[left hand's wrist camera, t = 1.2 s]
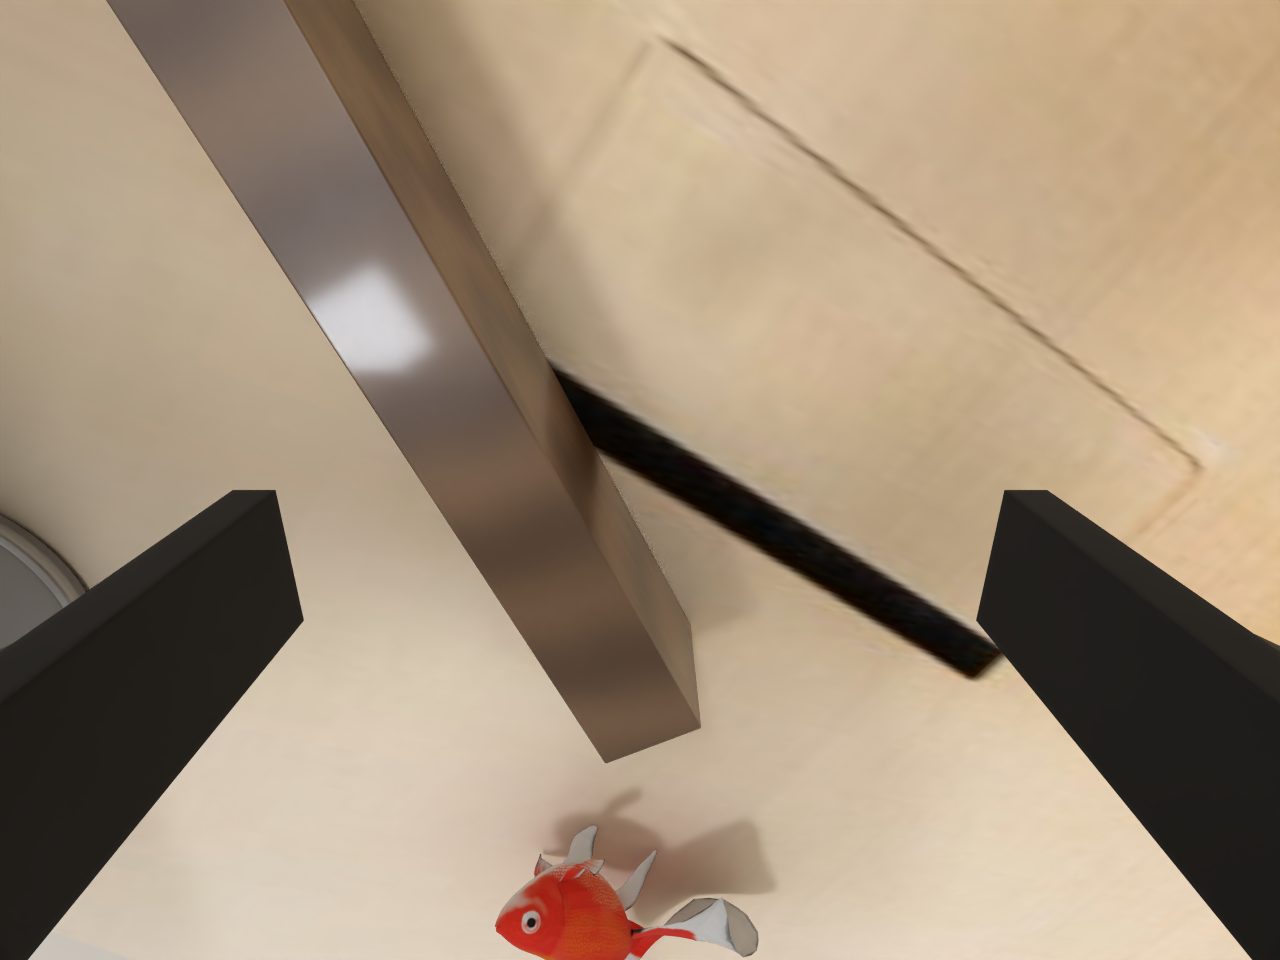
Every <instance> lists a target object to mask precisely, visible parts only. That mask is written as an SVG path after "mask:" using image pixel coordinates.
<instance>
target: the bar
mask: <svg viewBox="0 0 1280 960" xmlns="http://www.w3.org/2000/svg"><path fill="white" fill-rule="evenodd" d="M106 1H107V2H108V4H109V5H110V7H111V8H112V10H113V11H114V13H115V14H116V16H117V18H118V19H119V21H120V22H121V24H122V25H123V27H124V28H125V30H126V31H127V33H128V34H129V36H130V37H131V39H132V40H133V42H134V44H135V45H136V47H137V48H138V50H139V51H140V53H141V54H142V56H143V57H144V59H145V60H146V62H147V63H148V65H149V66H150V68H151V70H152V71H153V73H154V74H155V76H156V77H157V79H158V80H159V82H160V83H161V85H162V86H163V88H164V89H165V91H166V92H167V94H168V96H169V97H170V99H171V100H172V102H173V103H174V105H175V106H176V108H177V109H178V111H179V112H180V114H181V115H182V117H183V118H184V120H185V122H186V123H187V125H188V126H189V128H190V129H191V131H192V132H193V134H194V135H195V137H196V138H197V140H198V141H199V143H200V144H201V146H202V147H203V149H204V151H205V152H206V154H207V155H208V157H209V158H210V160H211V161H212V163H213V164H214V166H215V167H216V169H217V170H218V172H219V173H220V175H221V177H222V178H223V180H224V181H225V183H226V184H227V186H228V187H229V189H230V190H231V192H232V193H233V195H234V196H235V198H236V199H237V201H238V203H239V204H240V206H241V207H242V209H243V210H244V212H245V213H246V215H247V216H248V218H249V219H250V221H251V222H252V224H253V225H254V227H255V229H256V230H257V232H258V233H259V235H260V236H261V238H262V239H263V241H264V242H265V244H266V245H267V247H268V248H269V250H270V251H271V253H272V255H273V256H274V258H275V259H276V261H277V262H278V264H279V265H280V267H281V268H282V270H283V271H284V273H285V274H286V276H287V277H288V279H289V280H290V282H291V284H292V285H293V287H294V288H295V290H296V291H297V293H298V294H299V296H300V297H301V299H302V300H303V302H304V303H305V305H306V306H307V308H308V310H309V311H310V313H311V314H312V316H313V317H314V319H315V320H316V322H317V323H318V325H319V326H320V328H321V329H322V331H323V332H324V334H325V336H326V337H327V339H328V340H329V342H330V343H331V345H332V346H333V348H334V349H335V351H336V352H337V354H338V355H339V357H340V358H341V360H342V362H343V363H344V365H345V366H346V368H347V369H348V371H349V372H350V374H351V375H352V377H353V378H354V380H355V381H356V383H357V384H358V386H359V388H360V389H361V391H362V392H363V394H364V395H365V397H366V398H367V400H368V401H369V403H370V404H371V406H372V407H373V409H374V410H375V412H376V414H377V415H378V417H379V418H380V420H381V421H382V423H383V424H384V426H385V427H386V429H387V430H388V432H389V433H390V435H391V436H392V438H393V439H394V441H395V443H396V444H397V446H398V447H399V449H400V450H401V452H402V453H403V455H404V456H405V458H406V459H407V461H408V462H409V464H410V465H411V467H412V469H413V470H414V472H415V473H416V475H417V476H418V478H419V479H420V481H421V482H422V484H423V485H424V487H425V488H426V490H427V491H428V493H429V495H430V496H431V498H432V499H433V501H434V502H435V504H436V505H437V507H438V508H439V510H440V511H441V513H442V514H443V516H444V517H445V519H446V521H447V522H448V524H449V525H450V527H451V528H452V530H453V531H454V533H455V534H456V536H457V537H458V539H459V540H460V542H461V543H462V545H463V547H464V548H465V550H466V551H467V553H468V554H469V556H470V557H471V559H472V560H473V562H474V563H475V565H476V566H477V568H478V569H479V571H480V572H481V574H482V576H483V577H484V579H485V580H486V582H487V583H488V585H489V586H490V588H491V589H492V591H493V592H494V594H495V595H496V597H497V598H498V600H499V602H500V603H501V605H502V606H503V608H504V609H505V611H506V612H507V614H508V615H509V617H510V618H511V620H512V621H513V623H514V624H515V626H516V628H517V629H518V631H519V632H520V634H521V635H522V637H523V638H524V640H525V641H526V643H527V644H528V646H529V647H530V649H531V650H532V652H533V654H534V655H535V657H536V658H537V660H538V661H539V663H540V664H541V666H542V667H543V669H544V670H545V672H546V673H547V675H548V676H549V678H550V680H551V681H552V683H553V684H554V686H555V687H556V689H557V690H558V692H559V693H560V695H561V696H562V698H563V699H564V701H565V702H566V704H567V705H568V707H569V709H570V710H571V712H572V713H573V715H574V716H575V718H576V719H577V721H578V722H579V724H580V725H581V727H582V728H583V730H584V731H585V733H586V735H587V736H588V738H589V739H590V741H591V742H592V744H593V745H594V747H595V748H596V750H597V751H598V753H599V754H600V756H601V757H602V759H603V761H604V762H605V763H609V762H611V761H614V760H617V759H619V758H622V757H625V756H627V755H630V754H633V753H635V752H638V751H641V750H643V749H646V748H649V747H651V746H654V745H657V744H659V743H662V742H665V741H667V740H670V739H673V738H675V737H678V736H681V735H684V734H686V733H689V732H692V731H694V730H697V729H700V728H701V722H700V713H699V704H698V694H697V685H696V675H695V666H694V656H693V647H692V637H691V628H690V623H689V621H688V619H687V618H686V616H685V614H684V612H683V610H682V608H681V606H680V605H679V603H678V601H677V599H676V597H675V595H674V594H673V592H672V590H671V588H670V586H669V584H668V582H667V581H666V579H665V577H664V575H663V573H662V571H661V570H660V568H659V566H658V564H657V562H656V560H655V558H654V557H653V555H652V553H651V551H650V549H649V547H648V546H647V544H646V542H645V540H644V538H643V536H642V534H641V533H640V531H639V529H638V527H637V525H636V523H635V522H634V520H633V518H632V516H631V514H630V512H629V510H628V509H627V507H626V505H625V503H624V501H623V499H622V498H621V496H620V494H619V492H618V490H617V488H616V486H615V485H614V483H613V481H612V479H611V477H610V475H609V474H608V472H607V470H606V468H605V466H604V464H603V462H602V461H601V459H600V457H599V455H598V453H597V451H596V449H595V448H594V446H593V444H592V442H591V440H590V438H589V437H588V435H587V433H586V431H585V429H584V427H583V425H582V424H581V422H580V420H579V418H578V416H577V414H576V413H575V411H574V409H573V407H572V405H571V403H570V401H569V400H568V398H567V396H566V394H565V392H564V390H563V389H562V387H561V385H560V383H559V381H558V379H557V377H556V376H555V374H554V372H553V370H552V368H551V366H550V365H549V363H548V361H547V359H546V357H545V355H544V353H543V352H542V350H541V348H540V346H539V344H538V342H537V341H536V339H535V337H534V335H533V333H532V331H531V329H530V328H529V326H528V324H527V322H526V320H525V318H524V317H523V315H522V313H521V311H520V309H519V307H518V305H517V304H516V302H515V300H514V298H513V296H512V294H511V293H510V291H509V289H508V287H507V285H506V283H505V281H504V280H503V278H502V276H501V274H500V272H499V270H498V268H497V267H496V265H495V263H494V261H493V259H492V257H491V256H490V254H489V252H488V250H487V248H486V246H485V244H484V243H483V241H482V239H481V237H480V235H479V233H478V232H477V230H476V228H475V226H474V224H473V222H472V220H471V219H470V217H469V215H468V213H467V211H466V209H465V208H464V206H463V204H462V202H461V200H460V198H459V196H458V195H457V193H456V191H455V189H454V187H453V185H452V184H451V182H450V180H449V178H448V176H447V174H446V172H445V171H444V169H443V167H442V165H441V163H440V161H439V160H438V158H437V156H436V154H435V152H434V150H433V148H432V147H431V145H430V143H429V141H428V139H427V137H426V136H425V134H424V132H423V130H422V128H421V126H420V124H419V123H418V121H417V119H416V117H415V115H414V113H413V111H412V110H411V108H410V106H409V104H408V102H407V100H406V99H405V97H404V95H403V93H402V91H401V89H400V87H399V86H398V84H397V82H396V80H395V78H394V76H393V75H392V73H391V71H390V69H389V67H388V65H387V63H386V62H385V60H384V58H383V56H382V54H381V52H380V51H379V49H378V47H377V45H376V43H375V41H374V39H373V38H372V36H371V34H370V32H369V30H368V28H367V27H366V25H365V23H364V21H363V19H362V17H361V15H360V14H359V12H358V10H357V8H356V6H355V4H354V3H353V1H352V0H106Z"/></svg>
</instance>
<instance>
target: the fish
mask: <svg viewBox="0 0 1280 960" xmlns="http://www.w3.org/2000/svg"><path fill="white" fill-rule="evenodd" d="M596 832H597V827H596V826H594V825H592V826H590V827H588V828H586V829H585V830H583V831H581V832H580V833H578V834H577V835H576V836H575V837H574V839H573V841H572V843H571V846H570V849H569V853H568V856H567V858H566V859H565V861H564V862H563V864H558V865H555V866H552V865H550V864H549V863H547V862H546V861H544V860H543V859H541V854H540V856H539V860H538V862H537V865H536V867H535V872H534V875H535V878H533V879H532V880H531V881H530V882H528V883H527V884H526V885H525V886H524V887H522V888H521V889H520V890H519V891H518V892H517V893H516V894H515V895H514V896H513V897H512V898H511V899H510V900H509V901H508V902H507V903H506V905H505V906H504V908H503V909H502V911H501V912H500V915H499V917H498V919H497V922H496V924H495V927H496V932H498V933H499V934H501V935H502V936H503V937H504V938H505V939H506V940H507V941H509V942H510V943H511V944H512V945H514V946H515V947H517V948H519V949H521V950H523V951H526V952H528V953H531V954H534V955H537V956H539V957H541V958H543V959H545V960H640V959H641V957H642V956H643V955H644V953H645V952H646V951H647V950H648V949H649V948H650V947H651V946H652V945H653V944H654V943H655V942H656V941H657V940H658V939H659V938H661V937H662V936H664V935H667V936H676V937H683V938H688V939H692V940H695V941H704V942H709V943H715V944H718V945H721V946H724V947H726V948H729V949H731V950H733V951H735V952H737V953H739V954H740V955H741V956H742V957H746V956H750V955H752V954H753V953H754V952H756V951H757V946H758V932H757V930H756V929H755V927H754V925H753V924H752V922H751V921H750V919H749V918H748V916H747V915H746V914H745V913H744V912H742V911H741V910H740V909H738V908H737V907H735V906H734V905H732V904H730V903H729V902H727V901H725V900H723V899H722V898H720V899H713V898H703V899H693V900H692V901H691V902H690V903H688V904H687V905H686V906H684V907H683V908H682V909H681V910H679V911H678V912H677V913H676V914H674V915H673V916H672V917H671V918H670V919H669V921H668V922H667V923H666V924H665V925H664V926H658V927H651V928H643V927H641V926H640V925H638V924H636V923H634V922H632V921H630V920H628V919H627V917H626V914H625V911H626V910H628V909H629V908H631V907H632V906H633V904H634V903H635V902H636V900H637V898H638V896H639V893H640V891H641V888H642V886H643V883H644V881H645V878H646V876H647V873H648V871H649V869H650V867H651V864H652V862H653V860H654V858H655V856H656V853H657V851H656V850H654V851H653V852H652V853H651V854H650V855H649V856H648V857H647V858H646V859H645V860H644V861H643V862H642V863H641V864H640V865H639V866H638V868H637V869H636V870H635V871H634V872H633V874H632V875H631V876H630V878H629V879H628V880H627V882H626V883H625V884H624V885H623V886H622V887H621V888H620V889H619V890H617V891H614V890H613V889H612V887H611V886H610V885H609V883H608V882H607V881H606V880H605V879H604V878H603V877H602V876H601V875H600V874H599V873H598V872H599V870H600V869H601V867H602V865H603V864H604V862H605V860H591V858H592V854H593V844H594V839H595V836H596Z"/></svg>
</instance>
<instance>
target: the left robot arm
mask: <svg viewBox="0 0 1280 960" xmlns="http://www.w3.org/2000/svg"><path fill="white" fill-rule="evenodd" d="M303 621H304V619H303V615H302V610H301V605H300V601H299V596H298V592H297V587H296V582H295V578H294V573H293V569H292V564H291V559H290V555H289V550H288V546H287V541H286V536H285V532H284V527H283V523H282V518H281V513H280V509H279V504H278V500H277V495H276V490H232V491H231V492H229V493H228V494H227V495H225V496H224V497H222V498H221V499H219V500H218V501H217V502H215V503H214V504H212V505H211V506H209V507H208V508H206V509H205V510H204V511H202V512H201V513H199V514H198V515H196V516H195V517H194V518H192V519H191V520H189V521H188V522H186V523H185V524H183V525H182V526H181V527H179V528H178V529H176V530H175V531H173V532H172V533H171V534H169V535H168V536H166V537H165V538H163V539H162V540H160V541H159V542H158V543H156V544H155V545H153V546H152V547H150V548H149V549H148V550H146V551H145V552H143V553H142V554H140V555H139V556H137V557H136V558H135V559H133V560H132V561H130V562H129V563H127V564H126V565H125V566H123V567H122V568H120V569H119V570H117V571H116V572H114V573H113V574H112V575H110V576H109V577H107V578H106V579H104V580H103V581H102V582H100V583H99V584H97V585H96V586H94V587H93V588H91V589H90V590H89V591H87V592H86V591H85V589H84V588H83V586H82V585H81V584H80V582H79V581H78V579H77V578H76V577H75V575H74V574H73V573H72V572H71V571H70V569H69V568H68V567H67V566H66V565H65V564H64V563H63V562H62V561H61V560H60V559H59V557H58V556H57V555H56V554H55V553H53V552H52V551H51V550H50V549H49V548H48V547H47V546H46V545H44V544H43V543H42V542H41V541H40V540H38V539H37V538H36V537H34V536H33V535H32V534H31V533H29V532H28V531H26V530H25V529H23V528H22V527H20V526H19V525H17V524H16V523H14V522H12V521H11V520H9V519H7V518H5V517H4V516H2V515H0V960H28V959H29V958H30V956H31V955H32V954H33V953H34V951H35V950H36V949H37V948H38V947H39V945H40V944H41V943H42V942H43V940H44V939H45V938H46V937H47V935H48V934H49V933H50V932H51V931H52V929H53V928H54V927H55V926H56V924H57V923H58V922H59V921H60V919H61V918H62V917H63V916H64V915H65V913H66V912H67V911H68V910H69V908H70V907H71V906H72V905H73V904H74V902H75V901H76V900H77V899H78V897H79V896H80V895H81V894H82V892H83V891H84V890H85V889H86V888H87V886H88V885H89V884H90V883H91V881H92V880H93V879H94V878H95V876H96V875H97V874H98V873H99V872H100V870H101V869H102V868H103V867H104V865H105V864H106V863H107V862H108V860H109V859H110V858H111V857H112V856H113V854H114V853H115V852H116V851H117V849H118V848H119V847H120V846H121V844H122V843H123V842H124V841H125V840H126V838H127V837H128V836H129V835H130V833H131V832H132V831H133V830H134V829H135V827H136V826H137V825H138V824H139V822H140V821H141V820H142V819H143V817H144V816H145V815H146V814H147V813H148V811H149V810H150V809H151V808H152V806H153V805H154V804H155V803H156V801H157V800H158V799H159V798H160V797H161V795H162V794H163V793H164V792H165V790H166V789H167V788H168V787H169V785H170V784H171V783H172V782H173V781H174V779H175V778H176V777H177V776H178V774H179V773H180V772H181V771H182V769H183V768H184V767H185V766H186V765H187V763H188V762H189V761H190V760H191V758H192V757H193V756H194V755H195V754H196V752H197V751H198V750H199V749H200V747H201V746H202V745H203V744H204V742H205V741H206V740H207V739H208V738H209V736H210V735H211V734H212V733H213V731H214V730H215V729H216V728H217V726H218V725H219V724H220V723H221V722H222V720H223V719H224V718H225V717H226V715H227V714H228V713H229V712H230V710H231V709H232V708H233V707H234V706H235V704H236V703H237V702H238V701H239V699H240V698H241V697H242V696H243V694H244V693H245V692H246V691H247V690H248V688H249V687H250V686H251V685H252V683H253V682H254V681H255V680H256V679H257V677H258V676H259V675H260V674H261V672H262V671H263V670H264V669H265V667H266V666H267V665H268V664H269V663H270V661H271V660H272V659H273V658H274V656H275V655H276V654H277V653H278V651H279V650H280V649H281V648H282V647H283V645H284V644H285V643H286V642H287V640H288V639H289V638H290V637H291V635H292V634H293V633H294V632H295V631H296V629H297V628H298V627H299V626H300V624H301V623H302V622H303ZM976 621H977V622H978V623H979V624H980V626H981V627H982V628H983V629H984V631H985V632H986V633H987V634H988V635H989V637H990V638H991V639H992V640H993V642H994V643H995V644H996V645H997V647H998V648H999V649H1000V650H1001V651H1002V653H1003V654H1004V655H1005V656H1006V658H1007V659H1008V660H1009V661H1010V663H1011V664H1012V665H1013V666H1014V667H1015V669H1016V670H1017V671H1018V672H1019V674H1020V675H1021V676H1022V677H1023V679H1024V680H1025V681H1026V682H1027V683H1028V685H1029V686H1030V687H1031V688H1032V690H1033V691H1034V692H1035V693H1036V694H1037V696H1038V697H1039V698H1040V699H1041V701H1042V702H1043V703H1044V704H1045V706H1046V707H1047V708H1048V709H1049V710H1050V712H1051V713H1052V714H1053V715H1054V717H1055V718H1056V719H1057V720H1058V722H1059V723H1060V724H1061V725H1062V726H1063V728H1064V729H1065V730H1066V731H1067V733H1068V734H1069V735H1070V736H1071V738H1072V739H1073V740H1074V741H1075V742H1076V744H1077V745H1078V746H1079V747H1080V749H1081V750H1082V751H1083V752H1084V754H1085V755H1086V756H1087V757H1088V758H1089V760H1090V761H1091V762H1092V763H1093V765H1094V766H1095V767H1096V768H1097V769H1098V771H1099V772H1100V773H1101V774H1102V776H1103V777H1104V778H1105V779H1106V781H1107V782H1108V783H1109V784H1110V785H1111V787H1112V788H1113V789H1114V790H1115V792H1116V793H1117V794H1118V795H1119V797H1120V798H1121V799H1122V800H1123V801H1124V803H1125V804H1126V805H1127V806H1128V808H1129V809H1130V810H1131V811H1132V813H1133V814H1134V815H1135V816H1136V817H1137V819H1138V820H1139V821H1140V822H1141V824H1142V825H1143V826H1144V827H1145V829H1146V830H1147V831H1148V832H1149V833H1150V835H1151V836H1152V837H1153V838H1154V840H1155V841H1156V842H1157V843H1158V844H1159V846H1160V847H1161V848H1162V849H1163V851H1164V852H1165V853H1166V854H1167V856H1168V857H1169V858H1170V859H1171V860H1172V862H1173V863H1174V864H1175V865H1176V867H1177V868H1178V869H1179V870H1180V872H1181V873H1182V874H1183V875H1184V876H1185V878H1186V879H1187V880H1188V881H1189V883H1190V884H1191V885H1192V886H1193V888H1194V889H1195V890H1196V891H1197V892H1198V894H1199V895H1200V896H1201V897H1202V899H1203V900H1204V901H1205V902H1206V904H1207V905H1208V906H1209V907H1210V908H1211V910H1212V911H1213V912H1214V913H1215V915H1216V916H1217V917H1218V918H1219V919H1220V921H1221V922H1222V923H1223V924H1224V926H1225V927H1226V928H1227V929H1228V931H1229V932H1230V933H1231V934H1232V935H1233V937H1234V938H1235V939H1236V940H1237V942H1238V943H1239V944H1240V945H1241V947H1242V948H1243V949H1244V950H1245V951H1246V953H1247V954H1248V955H1249V956H1250V958H1251V959H1252V960H1280V646H1279V645H1277V644H1274V643H1272V642H1270V641H1268V640H1266V639H1264V638H1262V637H1260V636H1257V635H1255V634H1253V633H1252V632H1250V631H1249V630H1248V629H1246V628H1245V627H1243V626H1242V625H1240V624H1239V623H1237V622H1236V621H1235V620H1233V619H1232V618H1230V617H1229V616H1227V615H1226V614H1224V613H1223V612H1222V611H1220V610H1219V609H1217V608H1216V607H1214V606H1213V605H1212V604H1210V603H1209V602H1207V601H1206V600H1204V599H1203V598H1201V597H1200V596H1199V595H1197V594H1196V593H1194V592H1193V591H1191V590H1190V589H1189V588H1187V587H1186V586H1184V585H1183V584H1181V583H1180V582H1178V581H1177V580H1176V579H1174V578H1173V577H1171V576H1170V575H1168V574H1167V573H1166V572H1164V571H1163V570H1161V569H1160V568H1158V567H1157V566H1155V565H1154V564H1153V563H1151V562H1150V561H1148V560H1147V559H1145V558H1144V557H1143V556H1141V555H1140V554H1138V553H1137V552H1135V551H1134V550H1132V549H1131V548H1130V547H1128V546H1127V545H1125V544H1124V543H1122V542H1121V541H1120V540H1118V539H1117V538H1115V537H1114V536H1112V535H1111V534H1109V533H1108V532H1107V531H1105V530H1104V529H1102V528H1101V527H1099V526H1098V525H1097V524H1095V523H1094V522H1092V521H1091V520H1089V519H1088V518H1086V517H1085V516H1084V515H1082V514H1081V513H1079V512H1078V511H1076V510H1075V509H1074V508H1072V507H1071V506H1069V505H1068V504H1066V503H1065V502H1063V501H1062V500H1061V499H1059V498H1058V497H1056V496H1055V495H1053V494H1052V493H1051V492H1049V491H1048V490H1004V495H1003V500H1002V504H1001V509H1000V513H999V518H998V523H997V527H996V532H995V536H994V541H993V546H992V550H991V555H990V559H989V564H988V569H987V573H986V578H985V582H984V587H983V592H982V596H981V601H980V605H979V610H978V615H977V619H976Z"/></svg>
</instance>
